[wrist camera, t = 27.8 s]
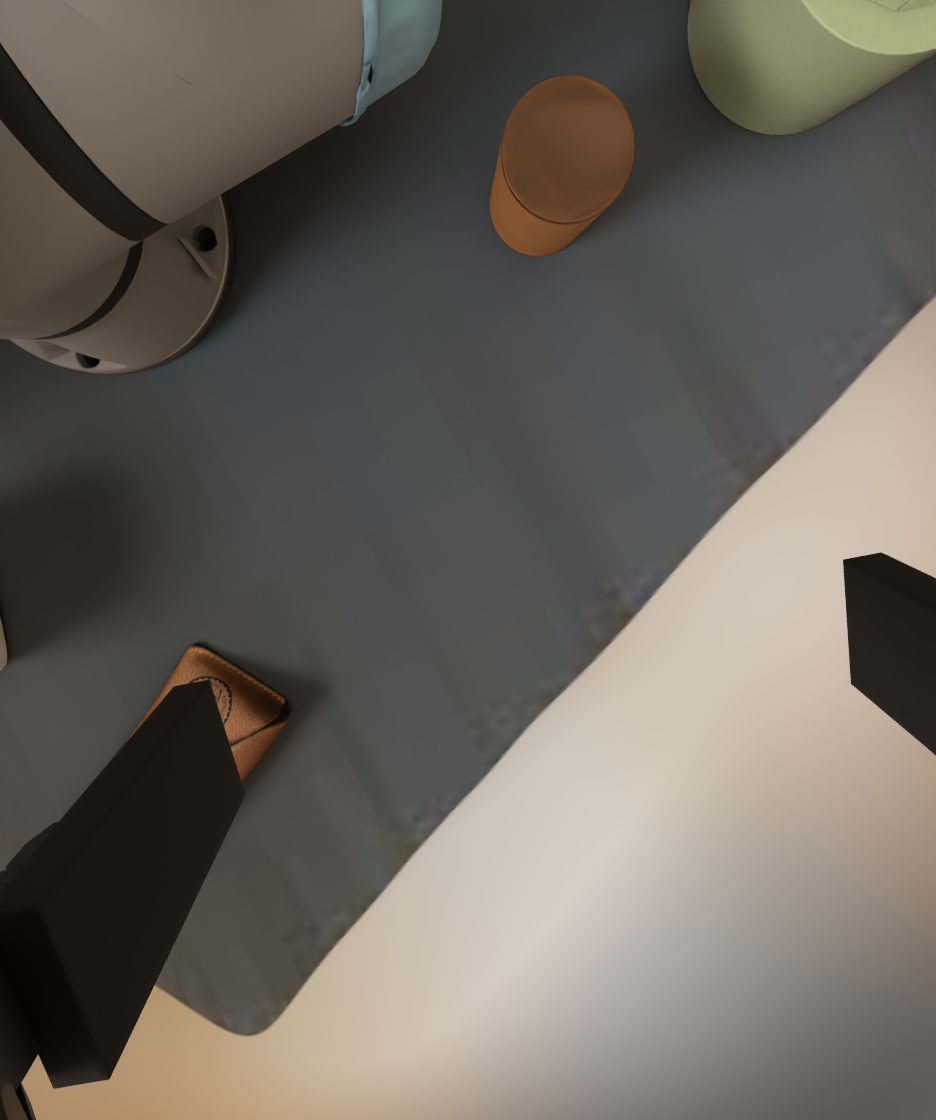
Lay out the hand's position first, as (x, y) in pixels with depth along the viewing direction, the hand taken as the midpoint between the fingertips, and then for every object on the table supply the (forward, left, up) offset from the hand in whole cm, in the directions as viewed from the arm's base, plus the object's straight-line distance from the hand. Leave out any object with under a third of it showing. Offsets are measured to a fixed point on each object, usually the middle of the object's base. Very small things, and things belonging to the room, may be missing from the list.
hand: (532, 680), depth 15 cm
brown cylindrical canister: (-9, +12, -33) cm, 36 cm away
